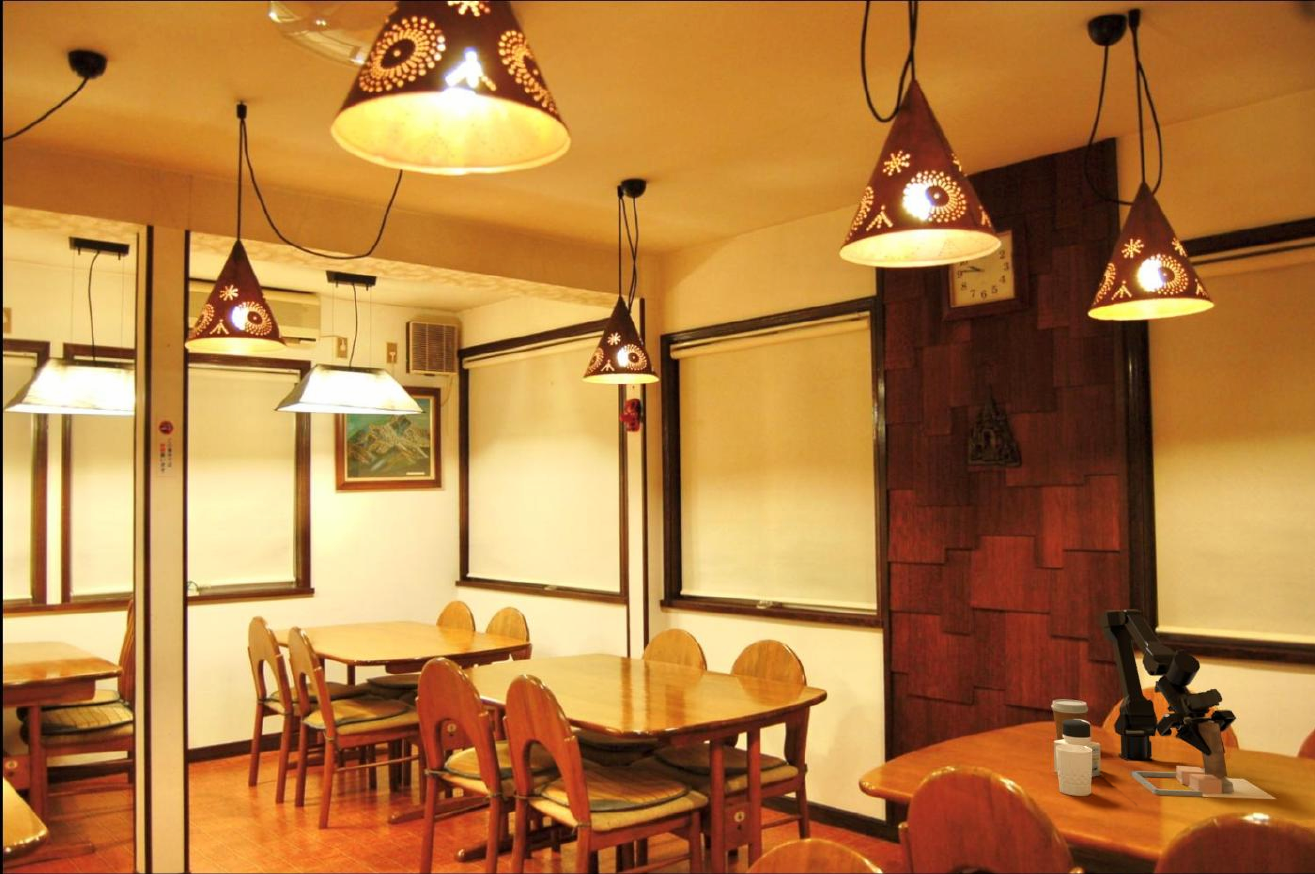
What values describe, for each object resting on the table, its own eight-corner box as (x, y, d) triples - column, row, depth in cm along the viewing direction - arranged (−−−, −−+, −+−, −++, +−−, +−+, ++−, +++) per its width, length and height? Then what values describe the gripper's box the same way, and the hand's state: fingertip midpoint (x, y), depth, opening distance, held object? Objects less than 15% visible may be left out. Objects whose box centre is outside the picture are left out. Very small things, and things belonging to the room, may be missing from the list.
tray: (1174, 781, 249) (1174, 772, 249) (1202, 801, 232) (1202, 791, 232) (1131, 779, 250) (1131, 770, 251) (1155, 799, 234) (1155, 789, 234)
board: (1243, 783, 247) (1243, 778, 247) (1276, 804, 230) (1276, 798, 230) (1174, 781, 249) (1174, 776, 249) (1202, 801, 232) (1202, 796, 232)
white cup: (1050, 787, 243) (1049, 744, 244) (1082, 787, 244) (1082, 743, 245) (1066, 797, 236) (1065, 752, 236) (1100, 796, 236) (1098, 751, 237)
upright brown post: (1217, 775, 246) (1207, 716, 246) (1238, 791, 234) (1227, 729, 235) (1198, 777, 246) (1188, 718, 247) (1218, 793, 235) (1208, 731, 235)
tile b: (1199, 779, 246) (1199, 767, 246) (1205, 785, 241) (1205, 772, 241) (1176, 778, 247) (1176, 765, 247) (1181, 784, 242) (1181, 771, 242)
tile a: (1212, 787, 239) (1212, 774, 239) (1222, 793, 234) (1221, 780, 234) (1189, 787, 240) (1189, 773, 240) (1198, 792, 235) (1198, 779, 235)
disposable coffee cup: (1073, 752, 278) (1072, 706, 279) (1044, 744, 286) (1043, 700, 287) (1096, 748, 283) (1095, 703, 284) (1067, 741, 291) (1066, 697, 292)
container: (1079, 779, 251) (1078, 724, 252) (1053, 771, 258) (1052, 718, 259) (1101, 775, 255) (1100, 721, 255) (1075, 768, 261) (1074, 715, 262)
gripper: (1163, 678, 243) (1201, 736, 232) (1228, 675, 248) (1268, 731, 237) (1140, 706, 250) (1176, 764, 239) (1204, 702, 255) (1242, 758, 244)
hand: (1216, 754), depth 239 cm, fingers closed on upright brown post, 3 cm apart
